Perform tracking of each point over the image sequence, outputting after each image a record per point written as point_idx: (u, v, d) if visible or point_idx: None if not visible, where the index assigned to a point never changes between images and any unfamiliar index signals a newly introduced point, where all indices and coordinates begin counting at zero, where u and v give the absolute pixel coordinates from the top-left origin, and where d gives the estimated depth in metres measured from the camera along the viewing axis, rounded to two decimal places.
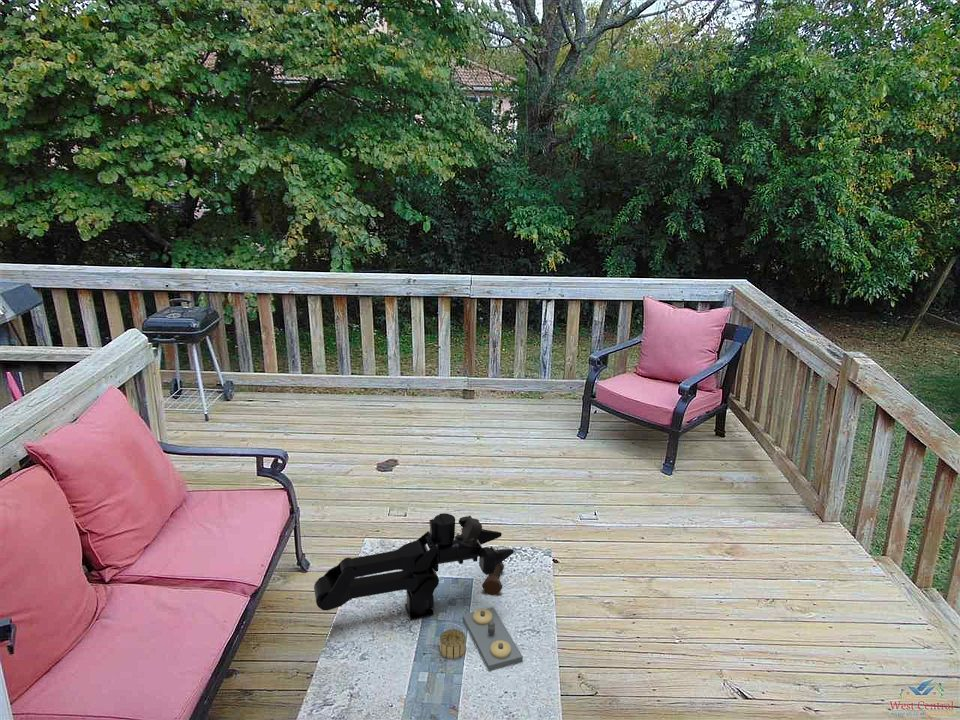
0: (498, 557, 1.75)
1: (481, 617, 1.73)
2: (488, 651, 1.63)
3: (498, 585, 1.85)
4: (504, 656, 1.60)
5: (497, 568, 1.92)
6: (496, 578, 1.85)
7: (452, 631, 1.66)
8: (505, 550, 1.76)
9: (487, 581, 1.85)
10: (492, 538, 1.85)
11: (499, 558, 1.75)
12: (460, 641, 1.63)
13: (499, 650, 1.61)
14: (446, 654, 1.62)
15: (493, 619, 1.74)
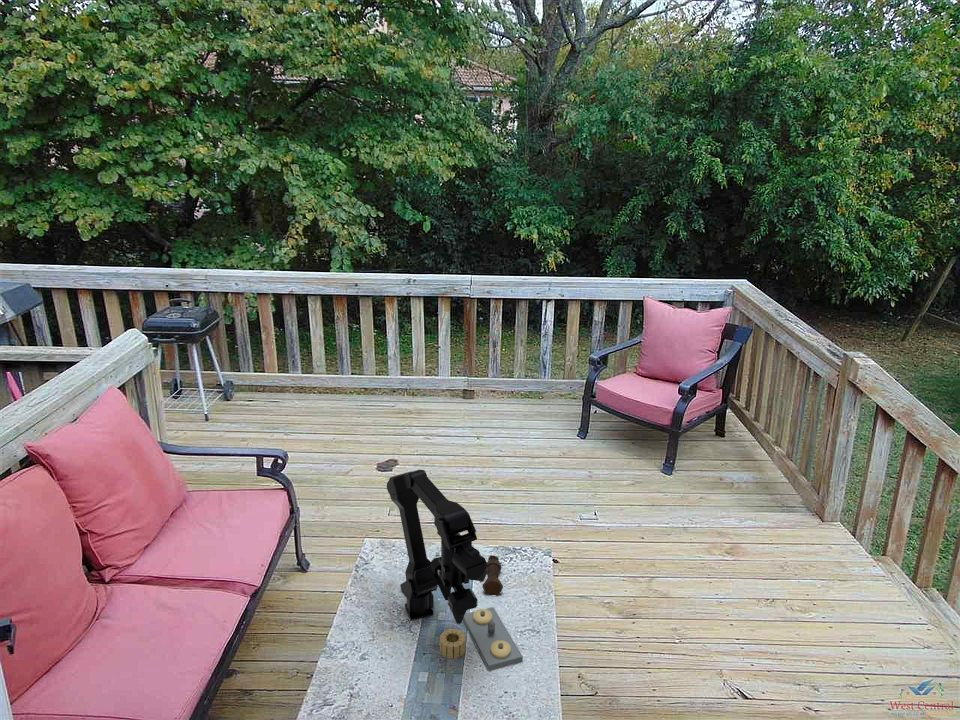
0: None
1: (481, 617, 1.73)
2: (488, 651, 1.63)
3: (499, 585, 1.85)
4: (504, 656, 1.60)
5: (495, 568, 1.92)
6: (496, 578, 1.85)
7: (452, 631, 1.66)
8: None
9: (488, 582, 1.84)
10: (443, 591, 1.65)
11: (457, 611, 1.55)
12: (460, 641, 1.63)
13: (499, 650, 1.61)
14: (446, 654, 1.62)
15: (493, 619, 1.74)
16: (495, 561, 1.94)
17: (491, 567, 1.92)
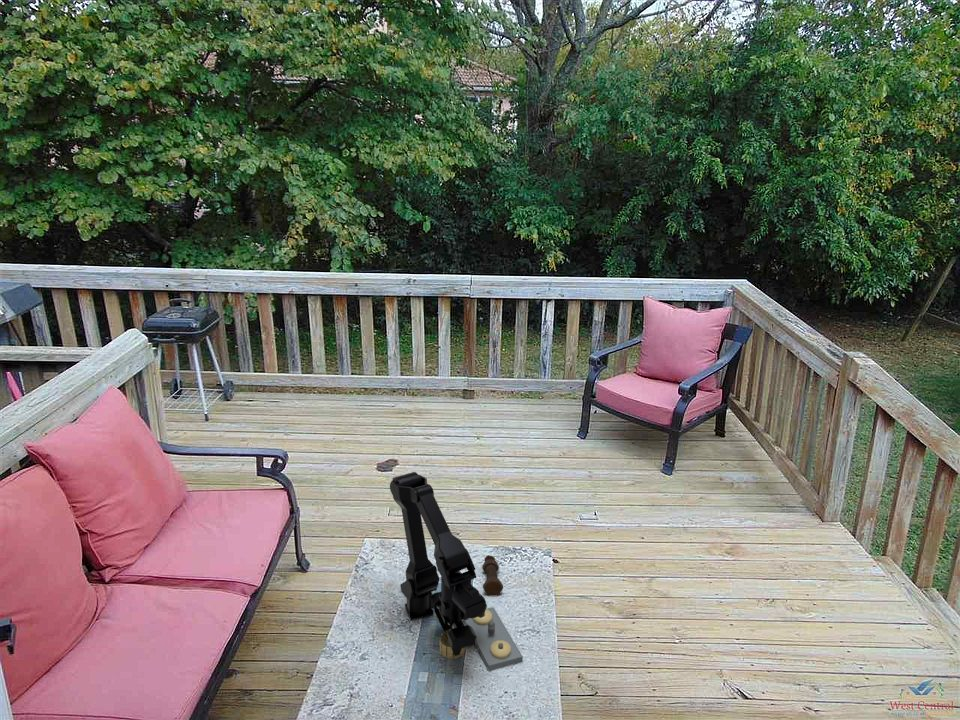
0: None
1: None
2: (488, 651, 1.63)
3: (499, 585, 1.85)
4: (504, 656, 1.60)
5: (494, 568, 1.92)
6: (497, 578, 1.85)
7: None
8: None
9: (488, 582, 1.84)
10: (445, 629, 1.67)
11: None
12: None
13: (499, 650, 1.61)
14: (446, 654, 1.62)
15: (493, 619, 1.74)
16: (493, 561, 1.94)
17: (489, 567, 1.92)
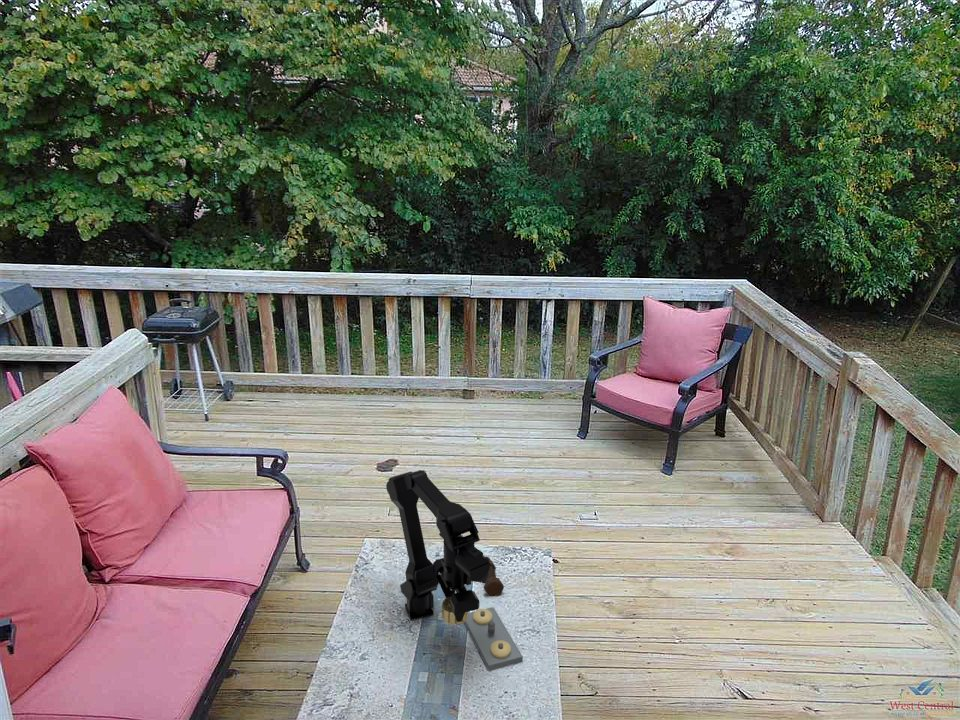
0: None
1: (481, 617, 1.73)
2: (488, 651, 1.63)
3: (500, 585, 1.85)
4: (504, 656, 1.60)
5: (491, 569, 1.92)
6: (497, 578, 1.85)
7: None
8: None
9: (489, 583, 1.84)
10: (447, 596, 1.64)
11: None
12: None
13: (499, 650, 1.61)
14: (448, 620, 1.59)
15: (493, 619, 1.74)
16: (489, 561, 1.94)
17: None
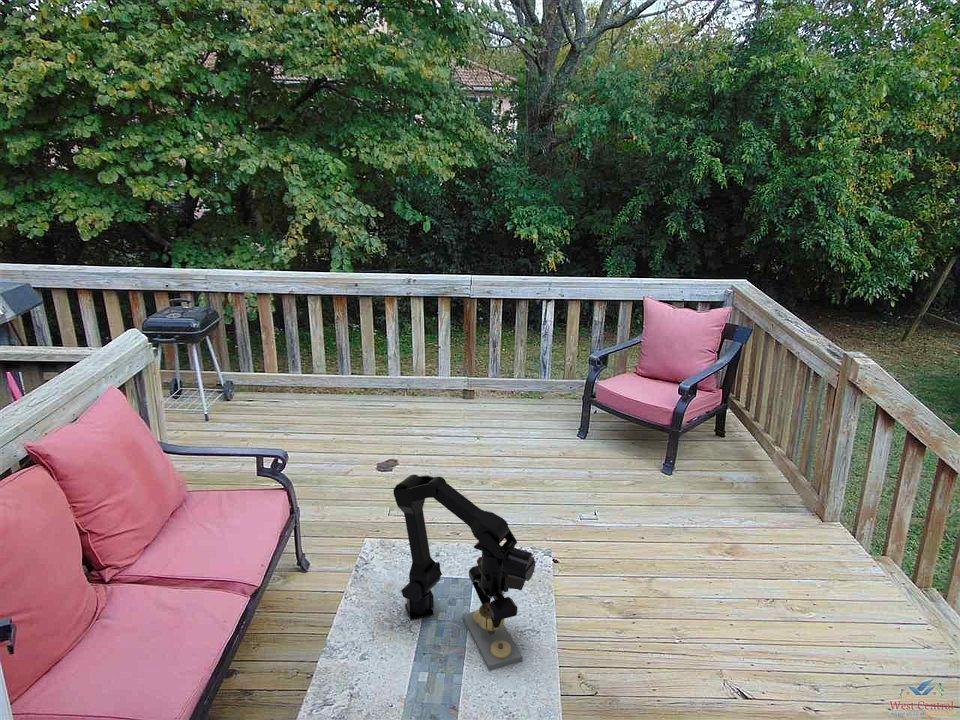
0: None
1: None
2: (488, 651, 1.63)
3: None
4: (504, 656, 1.60)
5: None
6: None
7: None
8: None
9: None
10: (483, 602, 1.69)
11: None
12: None
13: (499, 650, 1.61)
14: (486, 626, 1.64)
15: None
16: None
17: None
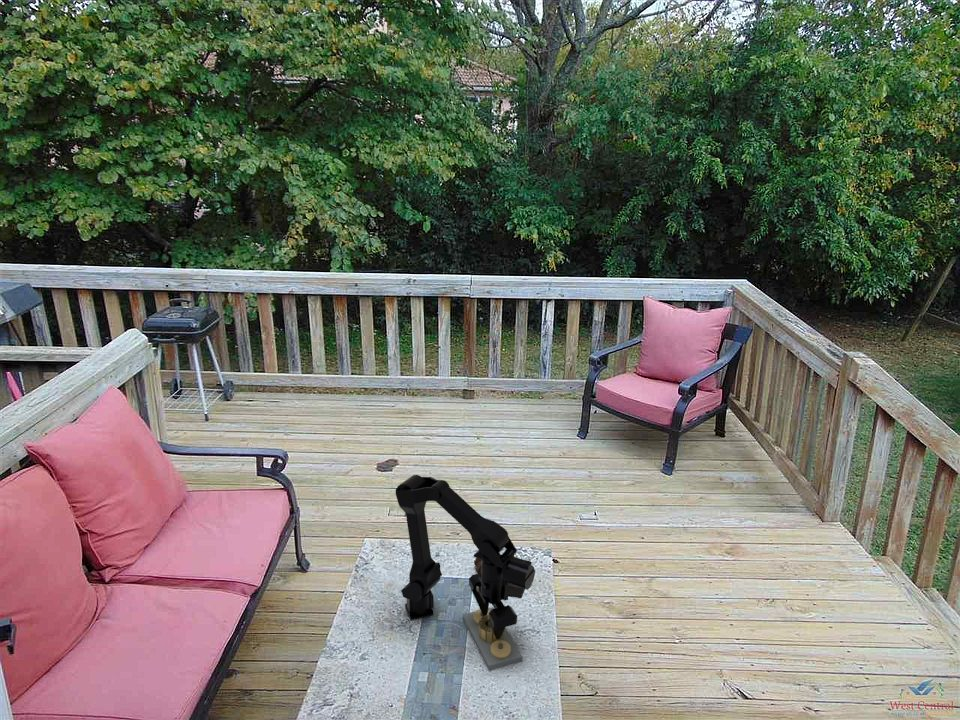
0: None
1: (481, 617, 1.73)
2: (488, 651, 1.63)
3: None
4: (504, 656, 1.60)
5: None
6: None
7: None
8: None
9: None
10: (481, 607, 1.70)
11: None
12: None
13: (499, 650, 1.61)
14: (485, 639, 1.65)
15: None
16: None
17: None
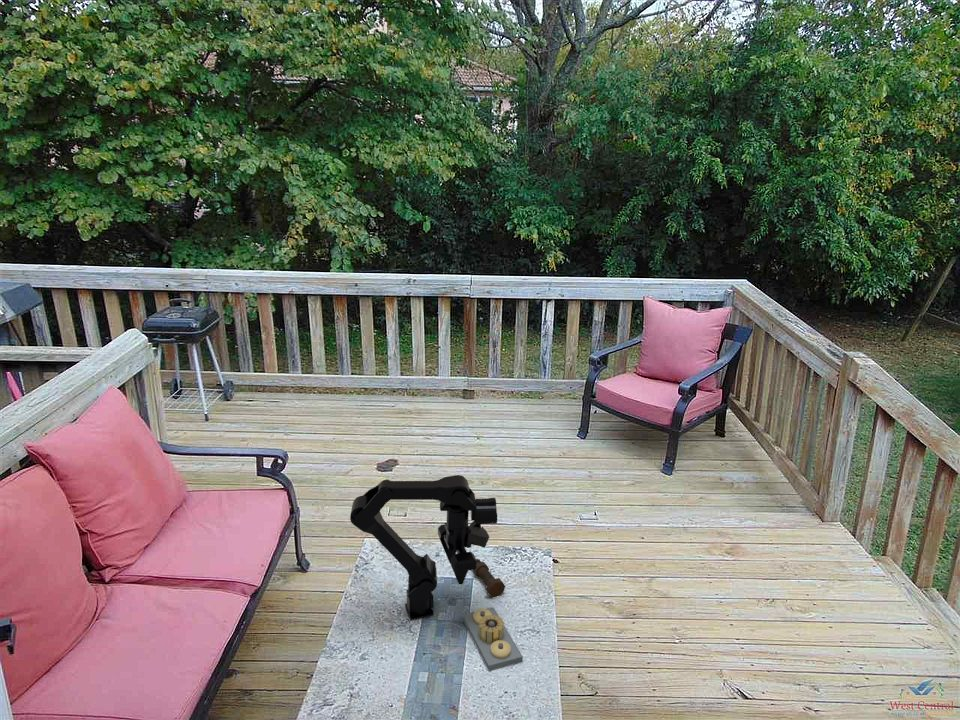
0: (460, 571, 1.69)
1: (481, 617, 1.73)
2: (488, 651, 1.63)
3: (502, 585, 1.85)
4: (504, 656, 1.60)
5: (487, 570, 1.91)
6: (498, 579, 1.85)
7: (490, 617, 1.69)
8: None
9: (492, 584, 1.83)
10: (449, 555, 1.79)
11: (459, 572, 1.69)
12: (499, 627, 1.66)
13: (499, 650, 1.61)
14: (485, 639, 1.65)
15: None
16: (483, 563, 1.93)
17: (482, 570, 1.91)
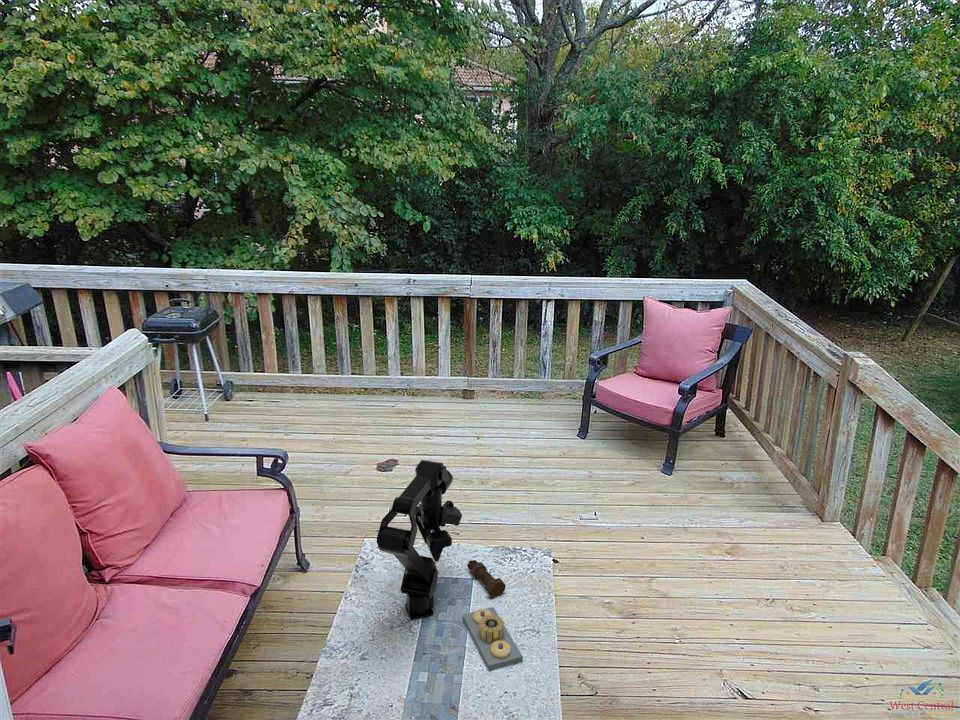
0: (436, 549, 1.78)
1: (481, 617, 1.73)
2: (488, 651, 1.63)
3: (503, 584, 1.85)
4: (504, 656, 1.60)
5: (485, 571, 1.91)
6: (499, 578, 1.85)
7: (490, 617, 1.69)
8: None
9: (493, 585, 1.83)
10: (424, 535, 1.87)
11: (435, 550, 1.78)
12: (499, 627, 1.66)
13: (499, 650, 1.61)
14: (485, 639, 1.65)
15: None
16: (481, 564, 1.92)
17: (481, 571, 1.90)
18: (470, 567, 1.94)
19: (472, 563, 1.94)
